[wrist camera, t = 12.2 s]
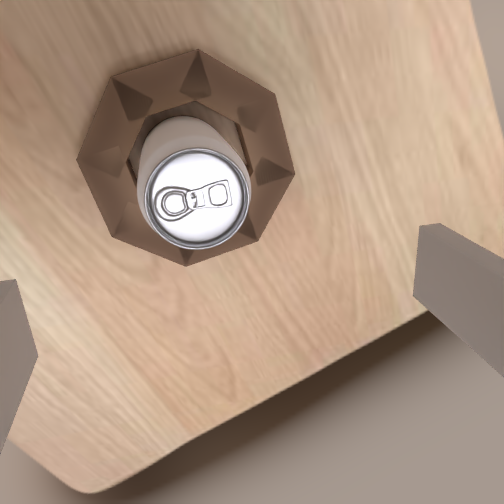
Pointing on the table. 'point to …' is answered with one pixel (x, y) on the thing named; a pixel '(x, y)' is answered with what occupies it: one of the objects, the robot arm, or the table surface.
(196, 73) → the brown octagonal frame
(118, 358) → the table surface
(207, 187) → the can
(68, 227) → the table surface
